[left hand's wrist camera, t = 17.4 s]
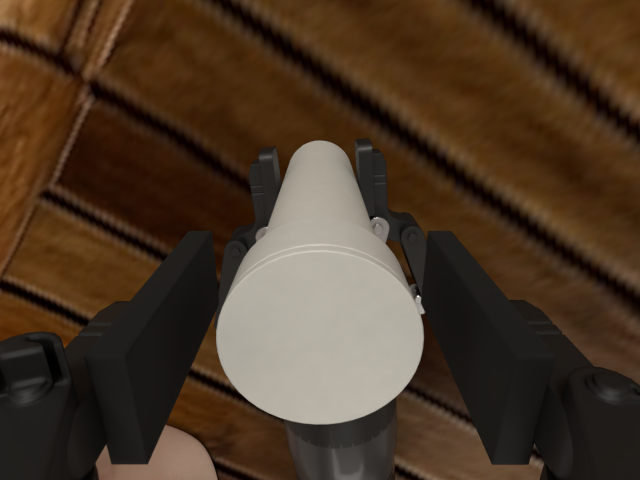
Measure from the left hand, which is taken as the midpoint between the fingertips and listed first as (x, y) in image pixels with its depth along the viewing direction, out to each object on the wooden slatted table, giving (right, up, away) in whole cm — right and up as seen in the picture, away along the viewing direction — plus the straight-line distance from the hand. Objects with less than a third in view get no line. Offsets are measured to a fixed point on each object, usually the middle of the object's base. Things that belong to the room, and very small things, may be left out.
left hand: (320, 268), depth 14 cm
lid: (0, -1, -4) cm, 4 cm away
